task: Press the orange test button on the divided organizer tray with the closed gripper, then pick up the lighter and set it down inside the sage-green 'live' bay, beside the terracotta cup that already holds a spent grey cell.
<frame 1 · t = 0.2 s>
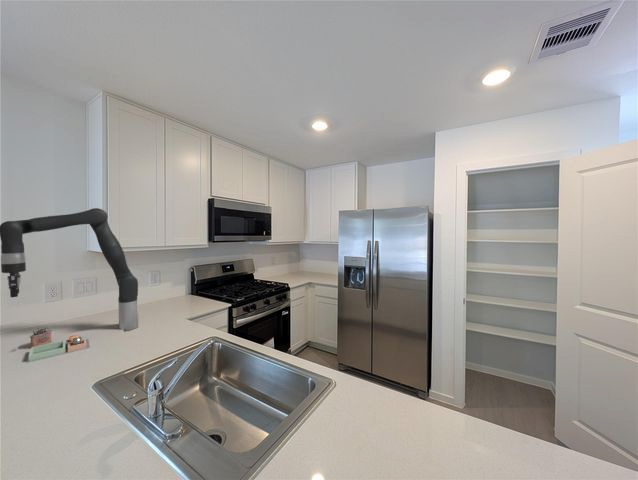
hand: (15, 295, 121), 29 cm above the countertop, fingers open, 8 cm apart
test button: (74, 340, 130), point 3 cm above the countertop, slide at 0.0 cm, touching divided organizer tray
lighter: (41, 347, 128), on the countertop
divided organizer tray: (60, 352, 124), on the countertop
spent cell: (77, 347, 126), point 1 cm above the countertop, touching divided organizer tray
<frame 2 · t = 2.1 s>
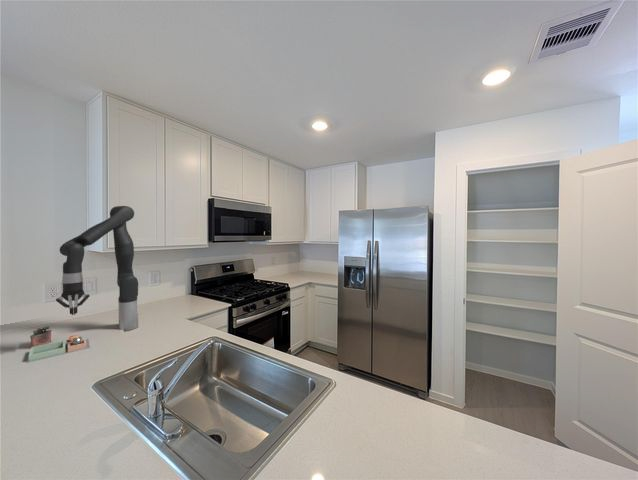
hand: (73, 314, 129), 17 cm above the countertop, fingers closed
nothing on the countertop moved.
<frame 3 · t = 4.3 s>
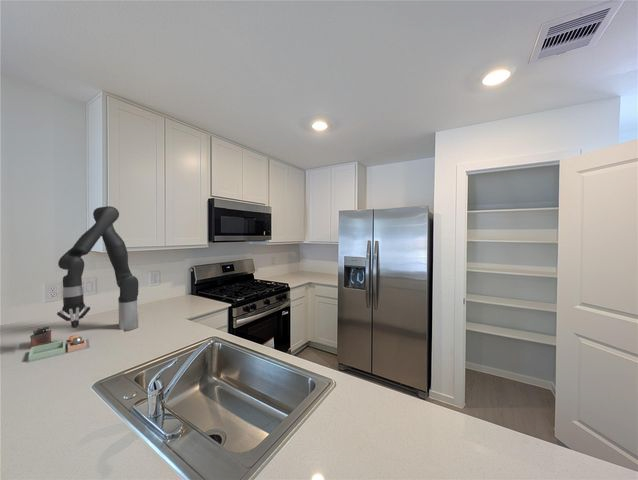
hand: (75, 327, 130), 10 cm above the countertop, fingers closed
nothing on the countertop moved.
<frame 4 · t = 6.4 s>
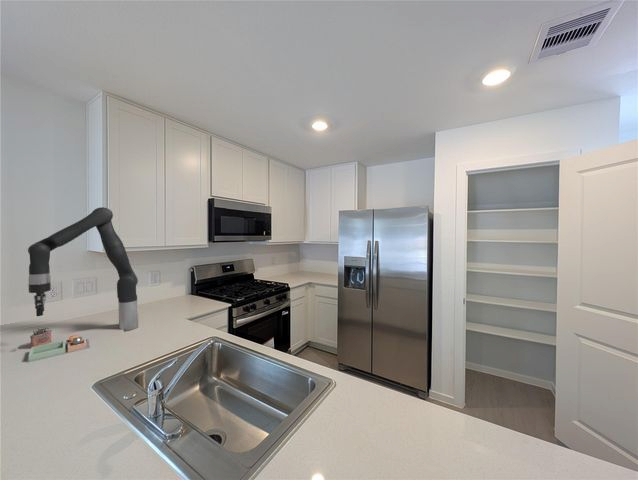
hand: (40, 313, 128), 17 cm above the countertop, fingers open, 8 cm apart
nothing on the countertop moved.
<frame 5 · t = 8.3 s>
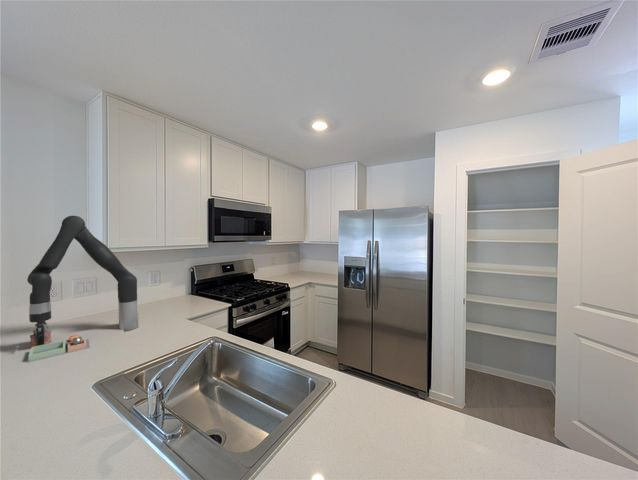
hand: (41, 343, 128), 2 cm above the countertop, fingers closed on lighter, 4 cm apart
lighter: (41, 347, 128), on the countertop, touching gripper
everything else where it was.
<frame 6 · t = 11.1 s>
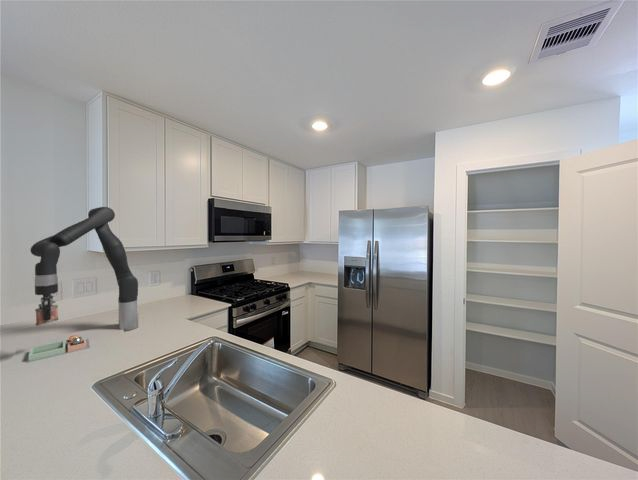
hand: (47, 318, 120), 18 cm above the countertop, fingers closed on lighter, 4 cm apart
lighter: (47, 322, 120), point 16 cm above the countertop, touching gripper
everything else where it was.
when the fingers open (4 cm above the countertop, at t = 13.9 s): lighter drops 1 cm, resting on divided organizer tray.
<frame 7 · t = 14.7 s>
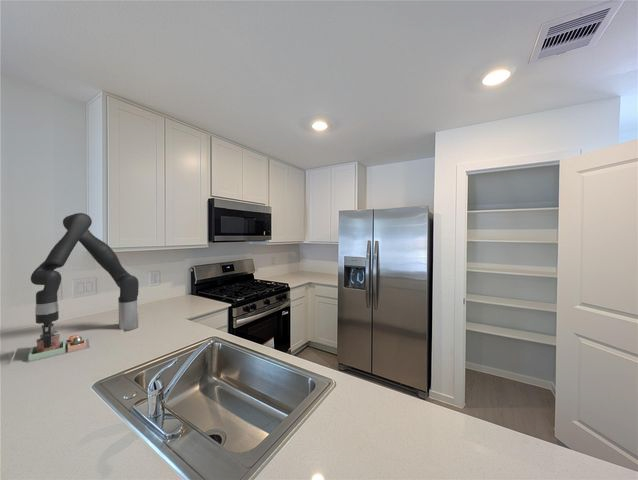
hand: (48, 344, 121), 5 cm above the countertop, fingers open, 8 cm apart
lighter: (48, 352, 121), point 1 cm above the countertop, touching divided organizer tray
everything else where it was.
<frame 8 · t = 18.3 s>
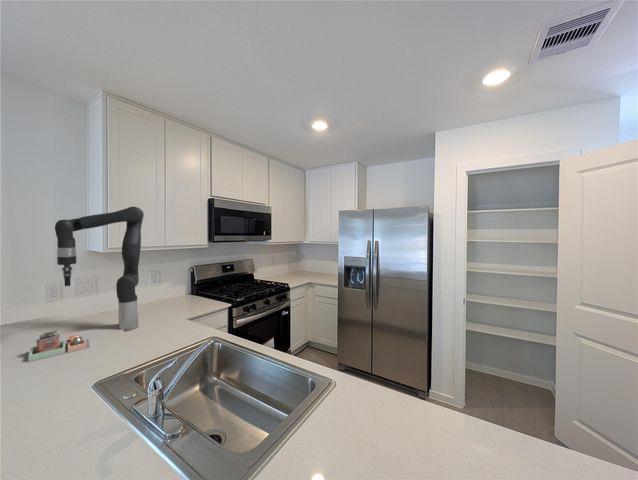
hand: (67, 284, 139), 30 cm above the countertop, fingers open, 8 cm apart
nothing on the countertop moved.
at the end: lighter inside the target area on the divided organizer tray (0.1 cm from its centre), point 1.0 cm above the divided organizer tray's base; lighter tilted 0°; the gripper is holding nothing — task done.
